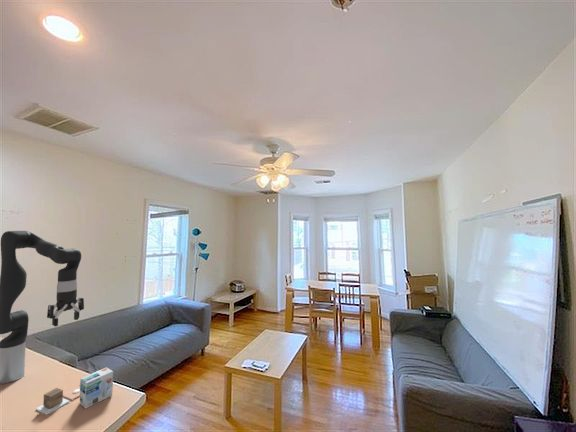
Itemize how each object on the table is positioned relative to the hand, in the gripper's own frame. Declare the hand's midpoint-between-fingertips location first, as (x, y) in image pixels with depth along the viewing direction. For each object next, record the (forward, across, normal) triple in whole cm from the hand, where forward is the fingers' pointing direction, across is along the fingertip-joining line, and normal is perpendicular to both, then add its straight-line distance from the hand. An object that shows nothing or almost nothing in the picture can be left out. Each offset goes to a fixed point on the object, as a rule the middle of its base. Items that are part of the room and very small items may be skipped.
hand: (66, 322), depth 124 cm
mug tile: (+30, +2, +12) cm, 32 cm away
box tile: (+30, +10, +12) cm, 34 cm away
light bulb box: (+30, +1, +25) cm, 39 cm away
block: (+29, +10, +12) cm, 33 cm away
